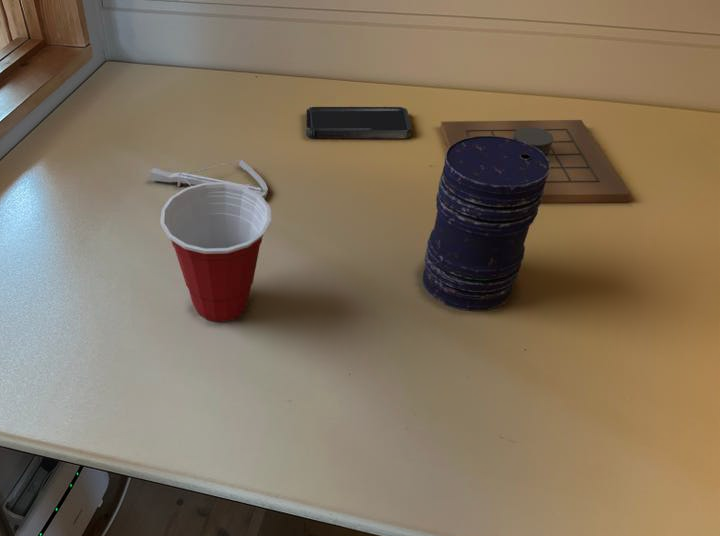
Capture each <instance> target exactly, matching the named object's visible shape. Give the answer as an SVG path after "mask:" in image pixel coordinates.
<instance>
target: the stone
mask: <svg viewBox="0 0 720 536" xmlns="http://www.w3.org/2000/svg"><path fill="white" fill-rule="evenodd" d="M513 139H516V140H519V141H522V142H525V143H527V144H530V145H532V146H534V147H535V148H537V149H538V150H540V151H541V152H542V153H543V154H545V156H546V157H547V158H548V156H549V153H550V149H551V146H552V143H553V139H554V138H553V135H552V134H551V133H549V132H548V131H546V130H543V129H540V128H534V127H525V128H520V129H518V130H516V131H515V132H514V135H513Z"/></svg>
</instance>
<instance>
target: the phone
mask: <svg viewBox="0 0 720 536" xmlns="http://www.w3.org/2000/svg"><path fill="white" fill-rule="evenodd" d="M305 112H306V115H305V116H306V117H305V118H306V119H305V120H306V121H305V125H306V126H305V127H306V128H305V135H306V136H307V137H308V138H312V139H408V138H410V137H411V132H412V124H411V120H410V115H409V111H408V109H407V108H405V107H403V106H310V107H308V108H306V111H305Z"/></svg>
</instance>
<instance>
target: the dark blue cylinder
mask: <svg viewBox="0 0 720 536" xmlns="http://www.w3.org/2000/svg"><path fill="white" fill-rule="evenodd" d="M549 170H550V162H549V160H548V158H547V157H546V156H545V154H543V153H542V152H541V151H540V150H538V149H537V148H535V147H534V146H532V145H530V144H527V143H525V142H522V141H519V140H516V139H511V138H506V137H499V136H477V137H470V138H466V139H463V140H460V141H458V142H456V143H454V144H453V145H452V146H450V147H449V149H448V150H447V149H446V153H445V158H444V165H443V168H442V171H441V172H442V173H441V175H440V177H439V183H438V192H437V194H436V197H435V201H436V204H435V205H436V210H437V211H436V217H435V221H434V227H433V229H432V230H431V232H430V234H429V238H428V240H427V246H426V251H425V256H424V269H423V272H422V284H423V287H424V289H425V290H426V292H427V293H428V294H429V295H430V296H431V297H432V298H434V299H435V300H436V301H437V302H439V303H441V304H444V305H446V306H447V307H451V308H453V309H458V310H462V311H470V312H481V311H489V310H492V309H496V308H498V307H500V306H502V305H504V304H505V303H506V302H507V301H508V300H509V299H510V298H511V296H512V292H513V290H514V285H515V283H516V280H517V278H518V276H519V274H520V271H521V268H522V262H523V260H524V258H525V257H524V256H525V251H526V247H525V242H526V239H527V235H528V233H529V230H530V227H531V225H532V224H533V223H534V221H535V219H536V217H537V215H538V212H539V207H540V205H541V204H542V203H541V200H542V196H543V192H544V186H545V182H546V179H547V176H548V173H549Z"/></svg>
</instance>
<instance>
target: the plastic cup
mask: <svg viewBox="0 0 720 536" xmlns="http://www.w3.org/2000/svg"><path fill="white" fill-rule="evenodd" d="M191 186H192V187H191ZM191 186H188V187H185V188H183V189H182V190H180V191H178V192H177V193H175V194H173V195H172V196H171V197H169V199H168V200H167V201H166V203H165V204H164V206H162V208H161V210H160V226H161V228H162V229H163V231H164V232H165V234H166V236H167V237H168V240H169V241H171V244H172V247H173V248H174V252H175V254H176V257H177V260H178V263H179V267H180V270H181V273H182V276H183V279H184V282H185V286H186V287H187V289H188V292H189V295H190V299H191V302H192V305H193V307H194V308H195V310H196V312H197V314H198V315H199V316H200V317H202V318H204V319H205V320H208V321H212V322H217V323H219V322H229V321H232V320H236V319H237V318H238V317H240V316H242V315H243V314H244V312H245V311H246V309H247V307H248V304H249V302H250V297H251V290H252V285H253V284H254V279H255V273H256V268H257V263H258V257H259V252H260V247H261V245H262V242H263V238H264V235H265V234H266V232H267V230H268V228H269V226H270V225H271V222H272V212H271V206H270V205H269V204H268V202H267V201H266V199H265V200H264V198H263V197H262V196H261V195H260V194H258V193H256V192H255V191H253V190H251V189H249V188H247V187H245V186H241V185H236V184H232V183H227V182H216V183H203V184H199V185H191Z"/></svg>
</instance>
